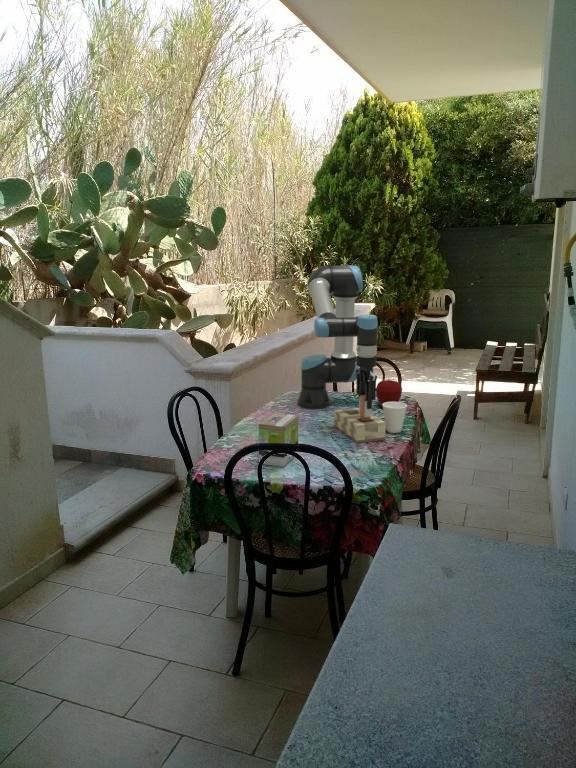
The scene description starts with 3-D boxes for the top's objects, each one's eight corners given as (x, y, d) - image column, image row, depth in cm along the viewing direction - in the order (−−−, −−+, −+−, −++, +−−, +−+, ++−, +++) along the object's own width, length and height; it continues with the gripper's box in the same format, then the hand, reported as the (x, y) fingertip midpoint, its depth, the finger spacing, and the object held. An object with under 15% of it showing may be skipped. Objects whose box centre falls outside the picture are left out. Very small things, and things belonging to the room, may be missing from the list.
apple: (374, 409, 268) (375, 381, 265) (376, 403, 279) (377, 375, 276) (401, 410, 265) (402, 382, 262) (402, 404, 276) (403, 376, 273)
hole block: (333, 426, 243) (333, 410, 242) (359, 423, 247) (360, 407, 245) (357, 443, 223) (357, 425, 221) (385, 439, 227) (385, 422, 225)
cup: (378, 433, 234) (379, 406, 232) (384, 426, 243) (385, 400, 241) (403, 436, 231) (404, 409, 228) (408, 428, 240) (409, 402, 237)
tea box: (285, 467, 199) (285, 426, 196) (258, 464, 202) (257, 423, 199) (299, 453, 213) (298, 414, 210) (273, 450, 216) (272, 411, 213)
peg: (358, 424, 230) (358, 394, 227) (367, 423, 231) (367, 393, 228) (362, 427, 226) (363, 397, 224) (371, 426, 228) (372, 396, 225)
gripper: (348, 352, 229) (347, 410, 234) (367, 360, 213) (366, 421, 219) (365, 351, 231) (364, 408, 237) (386, 359, 216) (384, 419, 221)
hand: (365, 414), depth 228 cm, fingers closed on peg, 4 cm apart
